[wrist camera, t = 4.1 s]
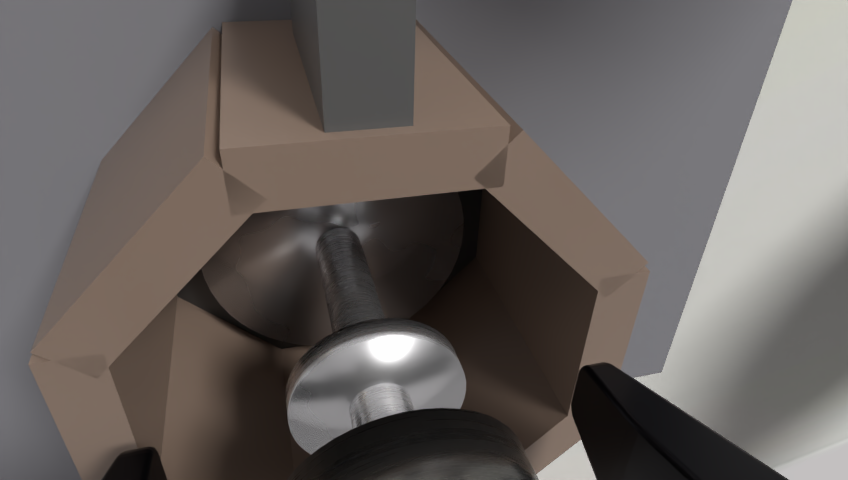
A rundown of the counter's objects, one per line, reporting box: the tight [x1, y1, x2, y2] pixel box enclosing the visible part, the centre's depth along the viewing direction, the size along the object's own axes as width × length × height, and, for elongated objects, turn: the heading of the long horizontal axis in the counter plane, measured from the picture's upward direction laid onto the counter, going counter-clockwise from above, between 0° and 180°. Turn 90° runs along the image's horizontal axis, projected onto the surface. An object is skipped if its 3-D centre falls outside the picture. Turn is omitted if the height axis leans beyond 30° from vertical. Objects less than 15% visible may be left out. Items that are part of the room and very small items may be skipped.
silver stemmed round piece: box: [201, 192, 539, 480], centre depth 9 cm, size 5×5×8 cm
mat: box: [0, 0, 792, 480], centre depth 13 cm, size 20×14×1 cm
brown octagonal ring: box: [28, 0, 650, 480], centre depth 10 cm, size 8×11×5 cm
